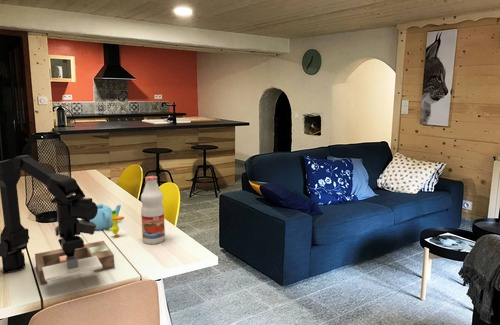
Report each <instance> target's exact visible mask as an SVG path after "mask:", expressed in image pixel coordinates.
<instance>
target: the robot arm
mask: <svg viewBox="0 0 500 325" xmlns="http://www.w3.org/2000/svg"><path fill="white" fill-rule="evenodd" d="M22 172H25V173H26V174H28V175H29V176H31V177H33V179H36V180H37V181H39V182H40V183H41V184H43V185H45V186H46V189H47V191H48V193H50V194H51V195H52V196H53V197H54V198H52V199H51V200H50V203H52V204H55V206H56V214H57V218H56V223H57V224H58V225H57V226H56V227H55V228H54V232H55V236H56V237H59V238H60V239H58V242H59V245H60V247H61V249H62V250H63V251H64V253H65V254H66V256H67V257H71V256H74V252H75V249H78V248H83V247H84V244H85V241H84V239H83V237H81V236H80V235H81V234H87V235H88V234H89V235H90V236H91V235H92V236H93V235H94V234H95V231H96V230H95V228H96V225H95V223H93V222H90V220H92V219H94V218H95V217H96V215H97V212H98V207H97V204H96V203H95V202H94V201H93V198H92V197H88V198H86V195H85V193H84V191H83V190H82V189H81V187H80V186H79V184H78V183H77V180H76V179H75V178H74V177H71V176H68V175H66V174H62V173H57V172H54V171H53V170H51V169H50V168H48V167H46V166H45V165H43V163H40V162H38V161H37V160H35V159H34V158H33V157H32V156H31V155H29V154H25V155H19V156H18V155H17V156H15V157H13V158H11V159H5V160H3V161H2V160H0V200H1V207H2V208H1V209H2V217H3V229H2V231H1V233H0V257H1V262H2V273H3V274H7V273H12V272H17V271H21V270H25V266H26V262H25V261H26V260H25V259H26V258H25V253H24V252H23V251H24V250H26V249H28V248H27V247H28V244H29V240H30V238H31V237H30V236H29V228H27V227H24V226H23V225H22V222H21V214H20V205H19V196H18V194H19V193H18V186H17V185H18V183H19V181H20V178H21V177H22V176H21V175H22V174H21V173H22Z"/></svg>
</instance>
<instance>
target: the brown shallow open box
mask: <svg viewBox="0 0 500 325" xmlns="http://www.w3.org/2000/svg"><path fill="white" fill-rule="evenodd" d="M65 255H66V254H65V253H64V251H63V250H62V248H58V249H55V250H53V249H52V250H49V251H43V252H38V253H34V258H35V259H34V260H35V268H36V272H37V276H38V281H39V285H40V286H41V285H47V284H48V281H45V278H44V274H43V270H42V267H46V266H51V265H55V264H60V261H59V257H60V256H65ZM74 256H76V257H77V260H79V259H84V258H88V257H93V256H97V258H98V259H99V261H100V263H101V264H102V267H103V268H101V269H97V270H92V271H93V273H97V272H102V271H105V270H106V271H107V270H111V269H114V268H115V266H116V265H115V254H114V253H113V251H112V250H111V249H110V248H109V246H108V245H107V244H106V242H105V241H104V240H100V241H96V242H90V243H86V244H85V243H84V247H83V248H78V249H75V252H74Z"/></svg>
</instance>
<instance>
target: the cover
mask: <svg viewBox="0 0 500 325" xmlns="http://www.w3.org/2000/svg"><path fill="white" fill-rule="evenodd" d="M101 268H103V267H102V264H101V263H100V261H99V259H98V258H97V256H93V257H88V258H84V259H79V260H77V257H76V256H71V257H66V262H65V263H60V264H55V265H51V266H46V267H42V270H43V274H44V278H45V281H47V282H48V281H52V280H57V279H61V278H65V277H71V276H74V275H78V274H83V273H87V272H92V271H93V270H97V269H101Z"/></svg>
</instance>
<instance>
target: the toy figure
mask: <svg viewBox="0 0 500 325" xmlns="http://www.w3.org/2000/svg"><path fill="white" fill-rule="evenodd" d="M124 219H125V216H119V215H118V217H117V212H116V210H115V209H112V219H111V220H112V221H113V227H111V228H109V230H110V231H111V232H112V233H113V234H114V238H119V237H120V236H121V235H120V234H118V233H119V231H120V227H119V225H118V221H123V220H124Z"/></svg>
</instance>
